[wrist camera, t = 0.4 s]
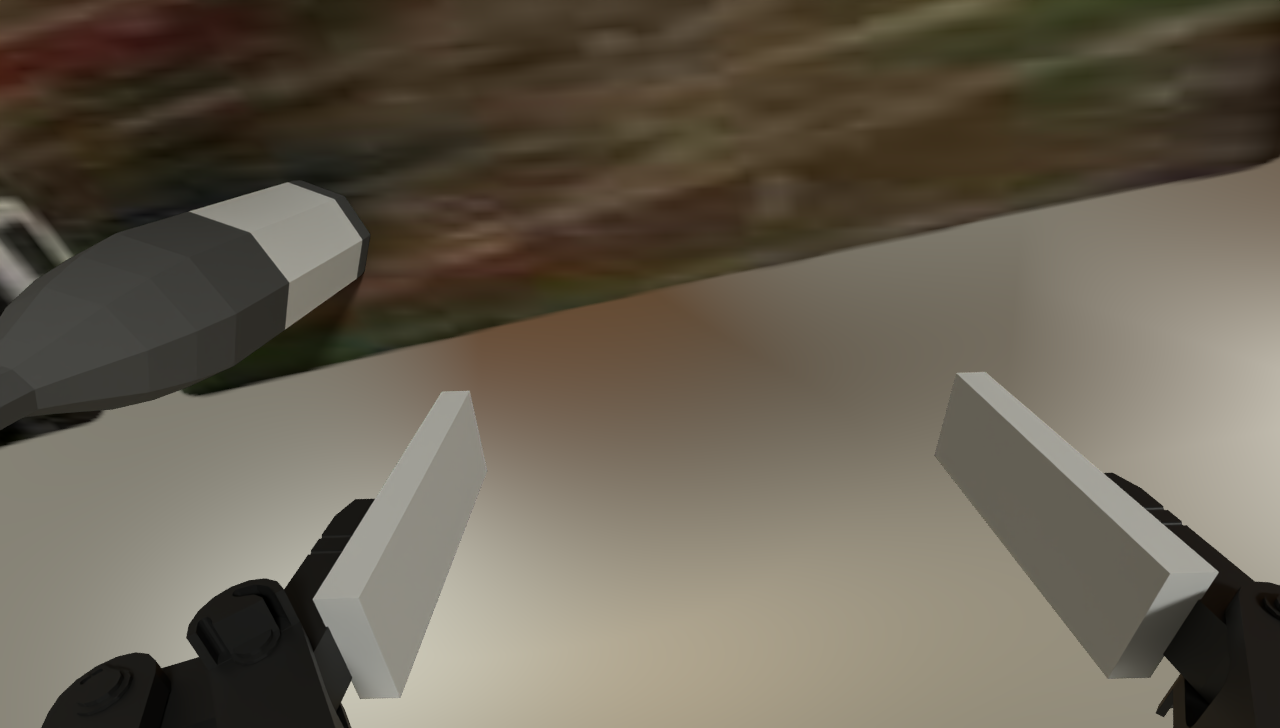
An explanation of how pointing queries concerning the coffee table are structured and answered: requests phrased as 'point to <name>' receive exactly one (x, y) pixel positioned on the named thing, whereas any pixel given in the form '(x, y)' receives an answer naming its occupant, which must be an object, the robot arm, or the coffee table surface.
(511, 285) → the coffee table surface
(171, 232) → the wine bottle
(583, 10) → the coffee table surface
